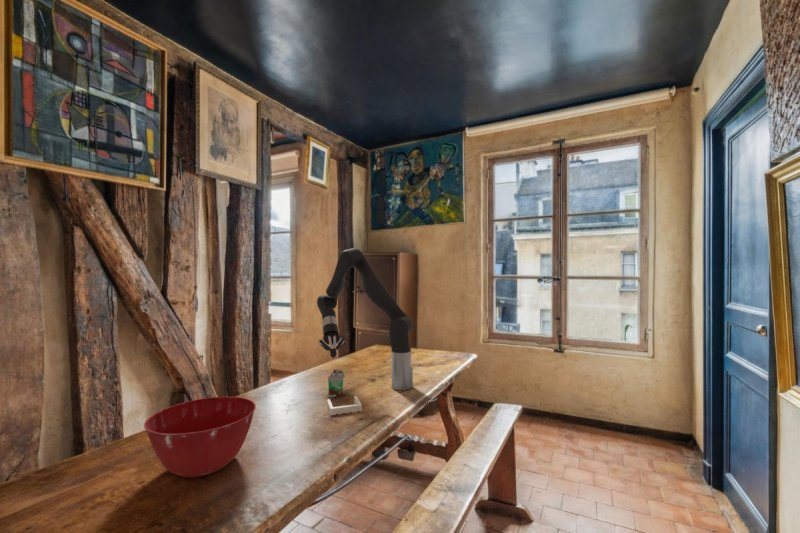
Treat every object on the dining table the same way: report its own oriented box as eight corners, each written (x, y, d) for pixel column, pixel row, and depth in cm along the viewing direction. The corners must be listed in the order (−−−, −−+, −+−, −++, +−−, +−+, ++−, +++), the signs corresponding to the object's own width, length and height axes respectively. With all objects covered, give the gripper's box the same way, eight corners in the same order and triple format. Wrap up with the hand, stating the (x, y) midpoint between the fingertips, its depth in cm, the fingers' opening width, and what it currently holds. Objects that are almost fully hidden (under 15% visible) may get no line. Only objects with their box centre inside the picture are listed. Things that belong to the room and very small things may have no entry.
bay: (356, 401, 157) (356, 396, 157) (362, 411, 147) (362, 404, 147) (327, 405, 153) (327, 399, 153) (330, 415, 143) (330, 408, 143)
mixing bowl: (185, 441, 123) (185, 394, 123) (270, 441, 122) (270, 395, 122) (118, 494, 94) (117, 433, 94) (228, 495, 94) (227, 434, 93)
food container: (342, 400, 159) (342, 376, 159) (328, 400, 159) (327, 376, 159) (347, 390, 171) (346, 368, 171) (333, 390, 171) (333, 368, 171)
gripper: (317, 323, 183) (320, 353, 172) (344, 322, 187) (348, 351, 176) (316, 332, 188) (319, 362, 177) (342, 330, 193) (346, 359, 181)
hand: (333, 356), depth 176 cm, fingers closed
